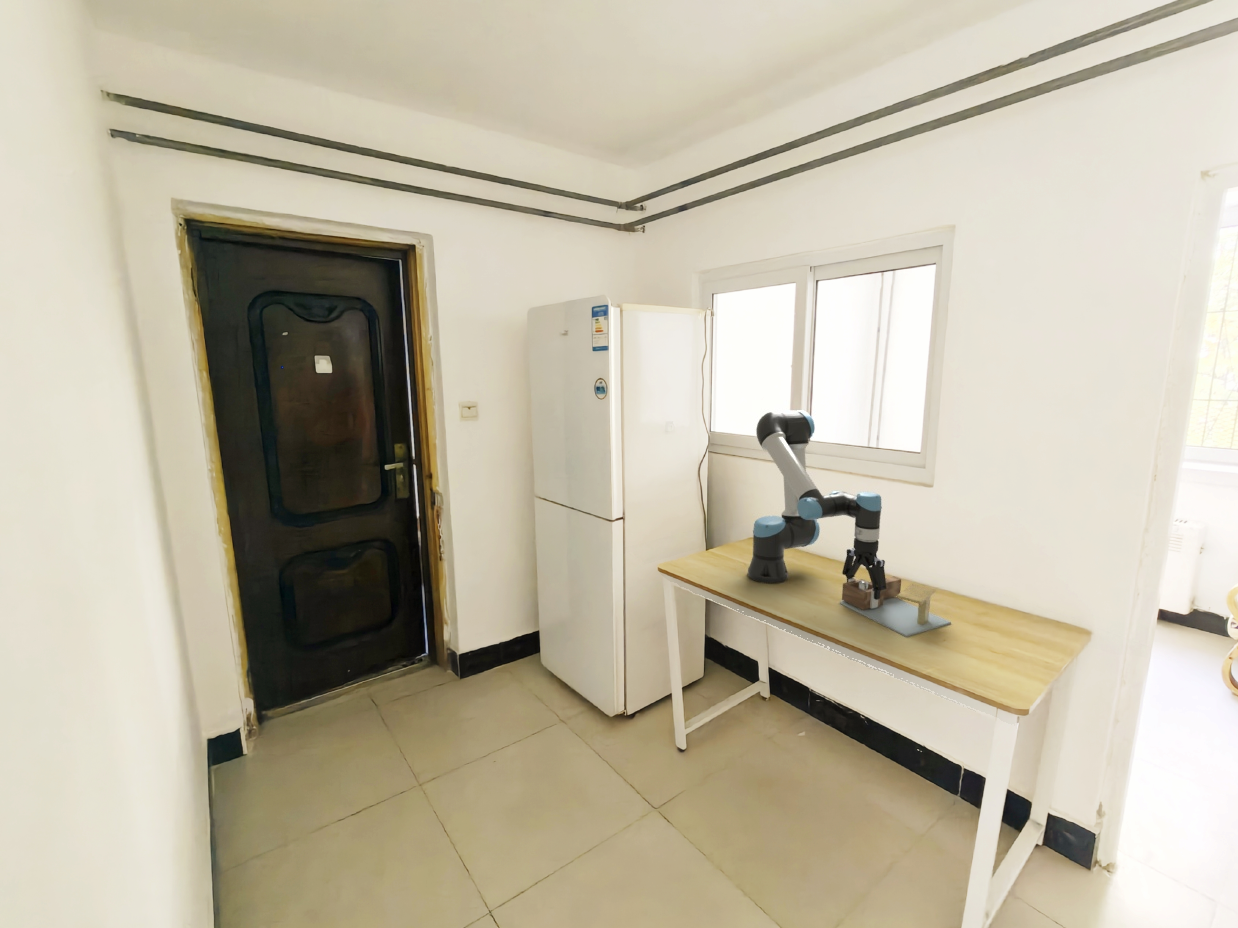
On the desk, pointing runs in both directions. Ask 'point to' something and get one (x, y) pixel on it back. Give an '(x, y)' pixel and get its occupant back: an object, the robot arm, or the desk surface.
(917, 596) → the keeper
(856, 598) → the link
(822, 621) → the desk surface
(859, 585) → the cylinder
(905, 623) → the board
